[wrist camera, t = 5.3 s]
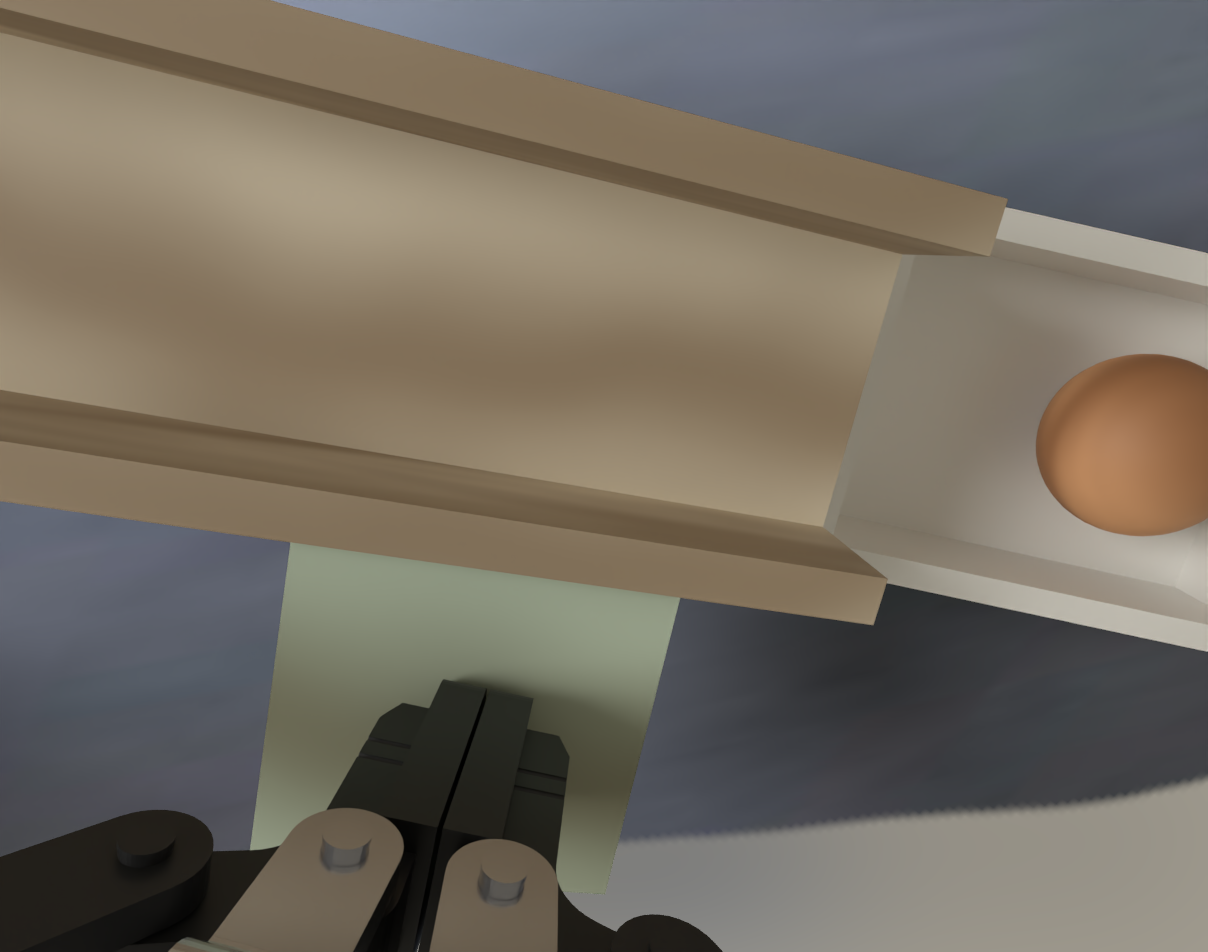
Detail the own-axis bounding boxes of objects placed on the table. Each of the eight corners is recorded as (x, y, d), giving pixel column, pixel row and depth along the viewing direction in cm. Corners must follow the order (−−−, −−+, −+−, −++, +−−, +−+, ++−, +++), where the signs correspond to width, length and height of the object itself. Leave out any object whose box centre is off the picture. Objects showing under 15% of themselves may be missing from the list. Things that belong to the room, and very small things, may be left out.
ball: (1338, 388, 16) (1203, 367, 20) (1133, 342, 16) (1038, 330, 20) (1255, 580, 17) (1141, 524, 21) (1061, 537, 17) (984, 489, 21)
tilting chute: (-664, -168, 12) (-1550, -490, 7) (840, 213, 17) (1008, 198, 12) (-562, 623, 15) (-1124, 829, 10) (694, 751, 20) (775, 934, 15)
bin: (855, 200, 20) (904, 184, 16) (1299, 301, 20) (1440, 306, 16) (768, 518, 21) (796, 563, 18) (1175, 605, 22) (1279, 666, 18)
